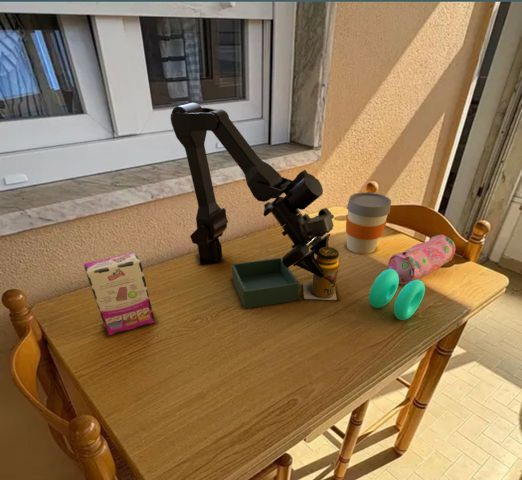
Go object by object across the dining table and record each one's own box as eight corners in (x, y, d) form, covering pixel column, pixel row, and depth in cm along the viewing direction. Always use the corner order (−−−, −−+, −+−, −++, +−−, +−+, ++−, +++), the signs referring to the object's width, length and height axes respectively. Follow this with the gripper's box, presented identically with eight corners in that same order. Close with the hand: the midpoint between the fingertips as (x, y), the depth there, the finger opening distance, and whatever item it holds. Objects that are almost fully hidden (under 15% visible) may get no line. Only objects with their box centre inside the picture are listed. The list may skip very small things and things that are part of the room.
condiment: (336, 300, 98) (343, 258, 90) (304, 299, 99) (308, 257, 91) (334, 285, 104) (340, 244, 96) (303, 284, 104) (306, 243, 96)
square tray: (244, 308, 95) (244, 291, 92) (232, 280, 106) (231, 263, 102) (297, 300, 98) (299, 283, 95) (280, 273, 109) (281, 257, 105)
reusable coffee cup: (385, 256, 117) (397, 207, 107) (344, 256, 117) (352, 207, 107) (376, 238, 126) (386, 192, 116) (338, 238, 126) (345, 191, 116)
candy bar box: (150, 312, 94) (136, 251, 83) (155, 323, 90) (141, 260, 80) (103, 324, 90) (82, 262, 79) (107, 336, 87) (86, 273, 76)
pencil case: (406, 291, 102) (416, 261, 96) (379, 277, 107) (387, 247, 101) (452, 268, 111) (463, 239, 105) (425, 256, 117) (434, 228, 111)
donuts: (384, 295, 100) (393, 261, 94) (419, 311, 95) (432, 276, 88) (363, 311, 95) (371, 275, 88) (399, 328, 90) (410, 292, 83)
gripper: (297, 214, 81) (338, 273, 84) (330, 188, 93) (365, 241, 97) (264, 240, 89) (303, 293, 93) (298, 214, 102) (332, 261, 105)
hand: (327, 271), depth 96 cm, fingers closed on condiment, 6 cm apart
